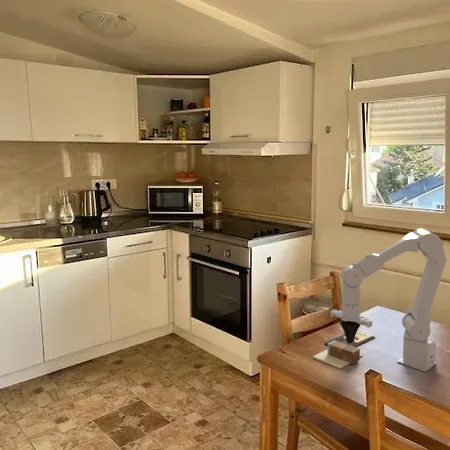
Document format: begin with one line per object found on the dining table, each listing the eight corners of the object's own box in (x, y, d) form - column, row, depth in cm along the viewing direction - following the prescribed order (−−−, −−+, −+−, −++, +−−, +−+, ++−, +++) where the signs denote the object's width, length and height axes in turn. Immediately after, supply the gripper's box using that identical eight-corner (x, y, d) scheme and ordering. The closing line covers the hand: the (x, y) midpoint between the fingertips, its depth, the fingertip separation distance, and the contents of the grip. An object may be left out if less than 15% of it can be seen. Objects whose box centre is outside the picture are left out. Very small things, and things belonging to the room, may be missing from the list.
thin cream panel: (362, 356, 155) (362, 354, 155) (340, 368, 147) (340, 367, 147) (335, 346, 164) (335, 344, 164) (313, 358, 155) (313, 356, 155)
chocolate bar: (324, 342, 166) (354, 329, 176) (324, 345, 166) (354, 332, 177) (344, 351, 159) (375, 336, 169) (344, 353, 159) (375, 339, 170)
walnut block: (359, 348, 151) (334, 340, 158) (353, 352, 148) (327, 343, 155) (359, 360, 151) (334, 350, 159) (353, 364, 149) (327, 354, 156)
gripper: (325, 300, 151) (324, 339, 153) (364, 311, 140) (363, 352, 143) (337, 295, 156) (337, 333, 158) (376, 305, 145) (375, 345, 147)
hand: (350, 342), depth 151 cm, fingers closed
